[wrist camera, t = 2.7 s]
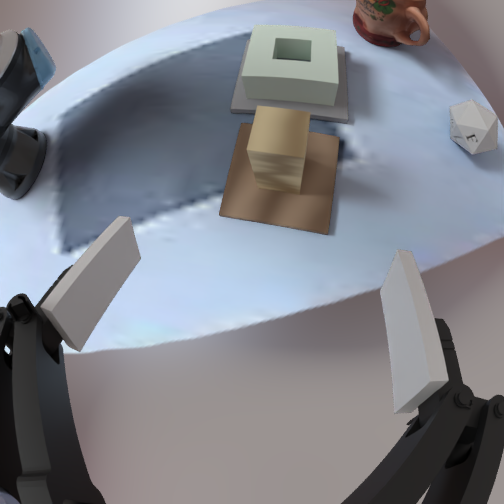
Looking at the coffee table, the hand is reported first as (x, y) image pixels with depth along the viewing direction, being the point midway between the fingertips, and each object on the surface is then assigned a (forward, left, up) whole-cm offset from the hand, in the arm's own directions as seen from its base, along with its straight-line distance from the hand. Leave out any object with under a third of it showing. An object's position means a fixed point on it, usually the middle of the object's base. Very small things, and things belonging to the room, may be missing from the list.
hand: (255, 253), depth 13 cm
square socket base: (0, +29, -20) cm, 35 cm away
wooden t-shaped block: (0, +12, -20) cm, 23 cm away
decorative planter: (+16, +44, -20) cm, 51 cm away
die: (+28, +24, -20) cm, 42 cm away
